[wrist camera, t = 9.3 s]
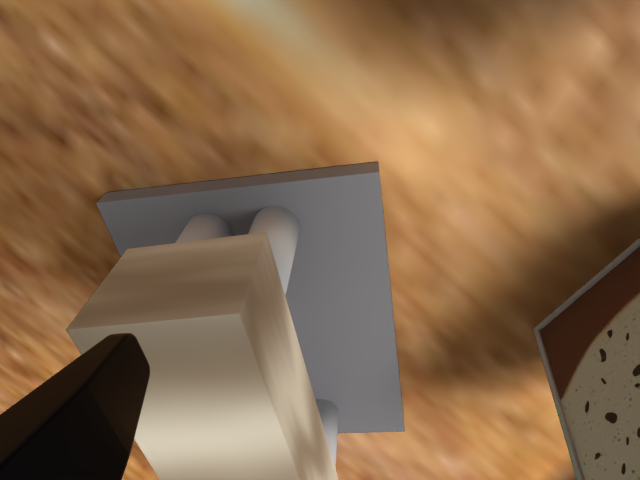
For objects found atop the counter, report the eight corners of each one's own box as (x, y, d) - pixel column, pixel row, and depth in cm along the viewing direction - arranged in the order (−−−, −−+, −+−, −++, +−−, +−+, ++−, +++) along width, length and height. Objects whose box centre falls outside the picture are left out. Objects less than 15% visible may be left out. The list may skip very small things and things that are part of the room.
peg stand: (378, 161, 19) (381, 224, 15) (403, 416, 28) (410, 502, 23) (106, 192, 21) (42, 256, 17) (207, 422, 29) (181, 503, 25)
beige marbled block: (344, 501, 24) (341, 594, 20) (249, 503, 25) (231, 592, 21) (266, 231, 16) (239, 313, 12) (127, 248, 16) (66, 329, 13)
